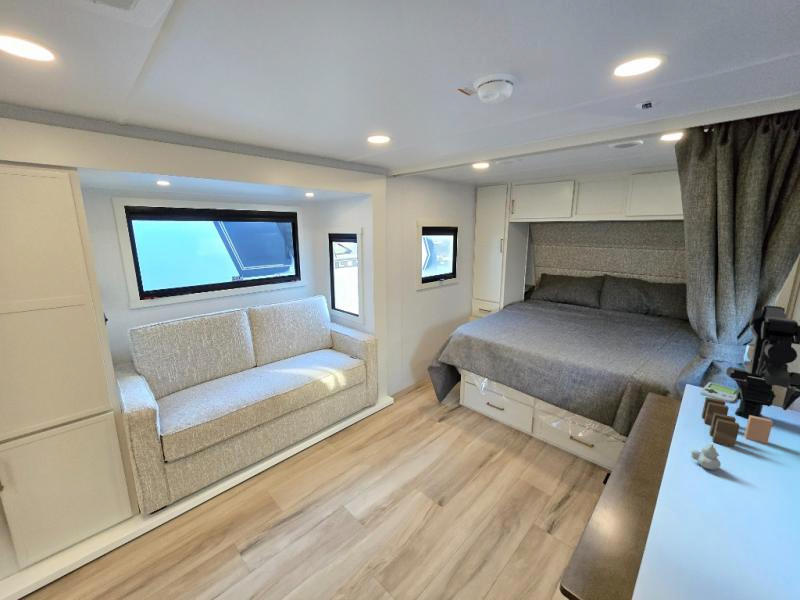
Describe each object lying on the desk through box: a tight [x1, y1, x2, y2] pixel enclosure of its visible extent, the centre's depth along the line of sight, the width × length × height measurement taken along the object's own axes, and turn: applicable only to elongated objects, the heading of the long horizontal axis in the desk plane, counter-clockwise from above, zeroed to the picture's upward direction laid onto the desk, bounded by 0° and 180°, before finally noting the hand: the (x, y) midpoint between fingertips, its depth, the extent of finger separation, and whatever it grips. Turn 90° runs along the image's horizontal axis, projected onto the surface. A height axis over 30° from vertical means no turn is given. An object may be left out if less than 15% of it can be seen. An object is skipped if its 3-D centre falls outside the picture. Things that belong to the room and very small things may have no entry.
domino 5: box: [743, 415, 774, 445], centre depth 107 cm, size 2×5×8 cm, turn 57°
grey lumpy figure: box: [690, 443, 721, 471], centre depth 96 cm, size 5×7×8 cm
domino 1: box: [701, 396, 726, 419], centre depth 119 cm, size 2×5×8 cm, turn 57°
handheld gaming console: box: [699, 381, 737, 403], centre depth 138 cm, size 10×2×15 cm
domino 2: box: [703, 402, 730, 426], centre depth 116 cm, size 2×5×8 cm, turn 57°
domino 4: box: [711, 419, 741, 448], centre depth 106 cm, size 2×5×8 cm, turn 57°
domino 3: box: [708, 413, 737, 437], centre depth 109 cm, size 2×5×8 cm, turn 57°
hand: (763, 405), depth 105 cm, fingers open, 9 cm apart
